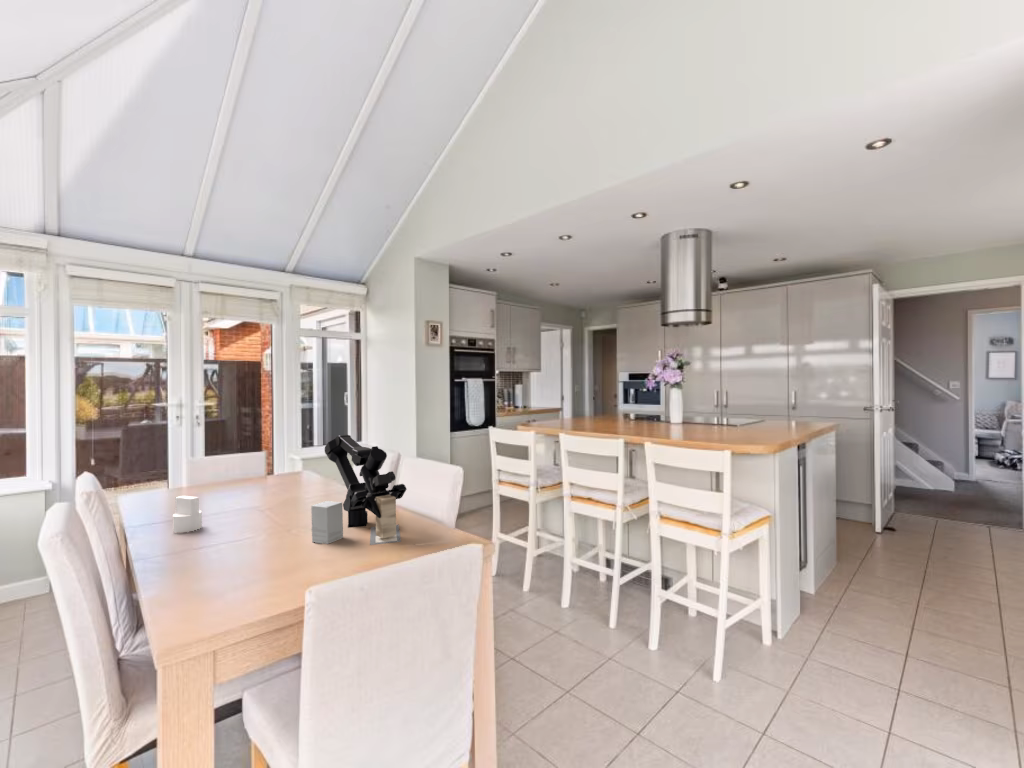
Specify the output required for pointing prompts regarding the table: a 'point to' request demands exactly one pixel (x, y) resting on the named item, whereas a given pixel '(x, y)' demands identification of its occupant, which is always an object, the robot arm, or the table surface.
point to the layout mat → (378, 540)
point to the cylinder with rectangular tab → (187, 514)
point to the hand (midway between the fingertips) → (387, 515)
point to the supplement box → (327, 522)
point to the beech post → (386, 516)
